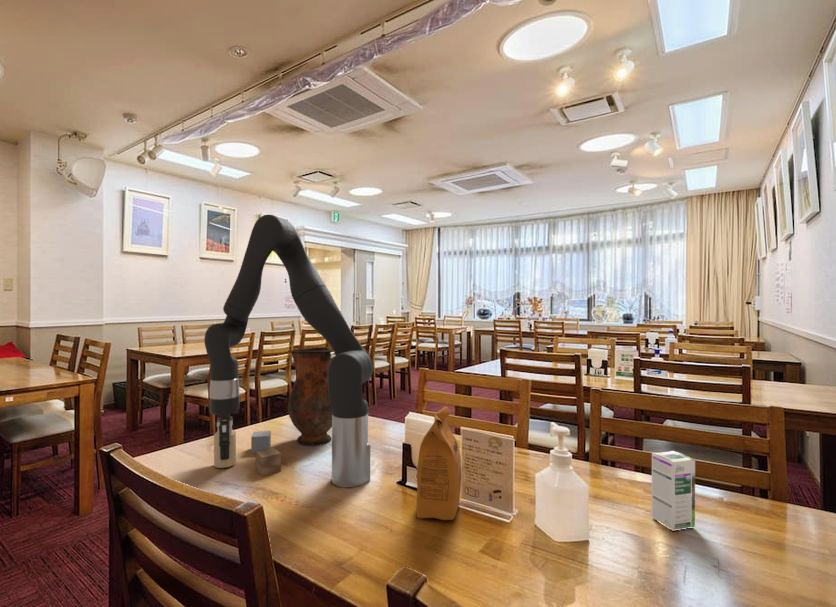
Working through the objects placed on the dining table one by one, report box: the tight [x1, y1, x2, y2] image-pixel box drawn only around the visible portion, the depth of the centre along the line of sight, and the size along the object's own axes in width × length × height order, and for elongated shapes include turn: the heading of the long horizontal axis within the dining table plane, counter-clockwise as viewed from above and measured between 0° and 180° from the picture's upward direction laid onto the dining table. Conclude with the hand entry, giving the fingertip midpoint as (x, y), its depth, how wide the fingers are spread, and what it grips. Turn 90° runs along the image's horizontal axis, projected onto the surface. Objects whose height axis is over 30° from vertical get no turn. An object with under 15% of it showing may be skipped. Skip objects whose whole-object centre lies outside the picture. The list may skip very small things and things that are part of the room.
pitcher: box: [287, 347, 336, 446], centre depth 137 cm, size 17×21×30 cm
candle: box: [213, 429, 237, 469], centre depth 117 cm, size 6×6×10 cm
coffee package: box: [415, 406, 462, 521], centre depth 94 cm, size 10×12×22 cm
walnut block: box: [255, 447, 282, 477], centre depth 114 cm, size 5×5×5 cm
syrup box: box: [651, 450, 696, 530], centre depth 89 cm, size 6×6×14 cm
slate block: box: [250, 430, 272, 454], centre depth 129 cm, size 5×5×5 cm
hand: (225, 455), depth 117 cm, fingers closed on candle, 5 cm apart
